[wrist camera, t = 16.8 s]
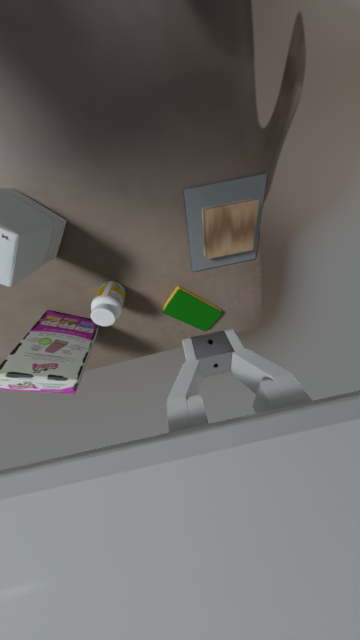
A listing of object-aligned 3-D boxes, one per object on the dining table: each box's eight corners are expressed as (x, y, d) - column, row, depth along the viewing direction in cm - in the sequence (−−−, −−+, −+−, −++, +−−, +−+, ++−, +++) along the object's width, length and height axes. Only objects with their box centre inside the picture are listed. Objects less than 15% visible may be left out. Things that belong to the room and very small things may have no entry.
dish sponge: (177, 284, 37) (178, 289, 35) (220, 308, 43) (223, 313, 41) (162, 307, 41) (162, 312, 39) (204, 326, 46) (206, 332, 45)
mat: (183, 189, 27) (183, 189, 26) (266, 173, 27) (267, 173, 26) (192, 271, 35) (192, 271, 35) (254, 258, 35) (255, 258, 35)
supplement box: (12, 186, 24) (-88, 180, 14) (68, 220, 27) (20, 236, 17) (5, 232, 27) (-80, 255, 17) (57, 258, 30) (11, 289, 20)
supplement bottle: (102, 301, 37) (89, 329, 29) (97, 279, 34) (82, 304, 26) (126, 302, 38) (120, 329, 30) (124, 280, 35) (117, 305, 27)
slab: (205, 209, 26) (259, 199, 26) (201, 208, 28) (251, 198, 28) (207, 259, 31) (252, 250, 31) (204, 255, 33) (246, 246, 33)
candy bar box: (47, 325, 39) (-4, 391, 26) (47, 309, 36) (-11, 372, 23) (98, 335, 43) (75, 395, 30) (101, 320, 40) (77, 380, 27)
